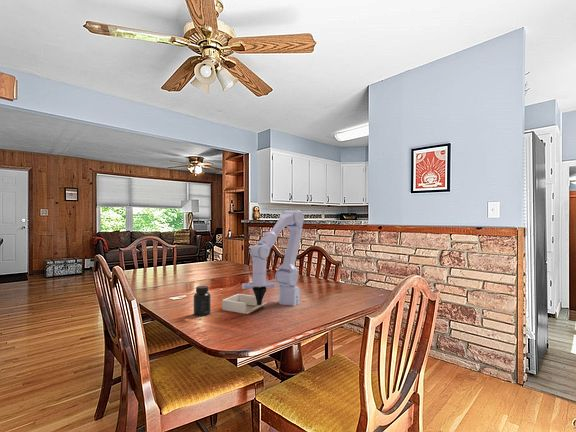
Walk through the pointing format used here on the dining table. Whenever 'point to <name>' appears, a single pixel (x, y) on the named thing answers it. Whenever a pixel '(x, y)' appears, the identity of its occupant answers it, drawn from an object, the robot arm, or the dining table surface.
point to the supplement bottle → (202, 301)
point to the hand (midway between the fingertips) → (259, 304)
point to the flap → (257, 307)
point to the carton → (239, 303)
